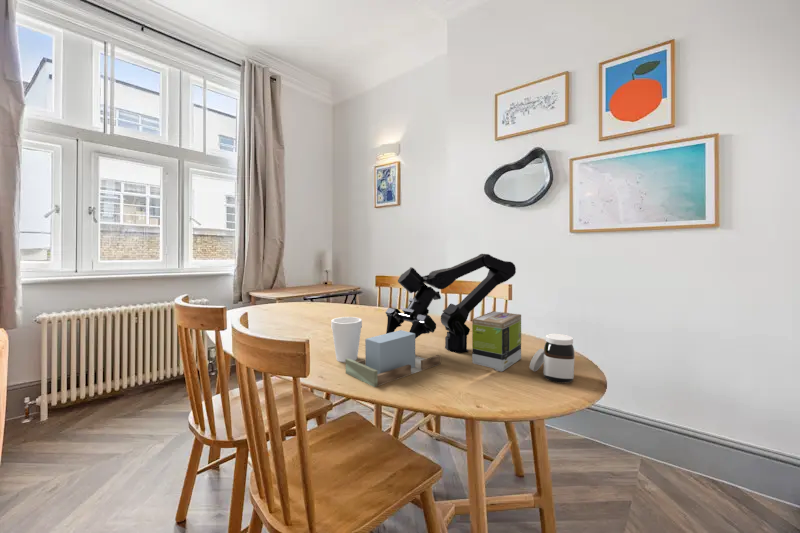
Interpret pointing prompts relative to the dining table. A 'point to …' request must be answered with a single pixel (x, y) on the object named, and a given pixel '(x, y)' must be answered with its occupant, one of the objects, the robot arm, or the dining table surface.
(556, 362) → the spread jar
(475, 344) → the tea box
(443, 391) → the dining table surface
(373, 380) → the lane
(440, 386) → the dining table surface
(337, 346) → the foam cup
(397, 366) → the slate box
